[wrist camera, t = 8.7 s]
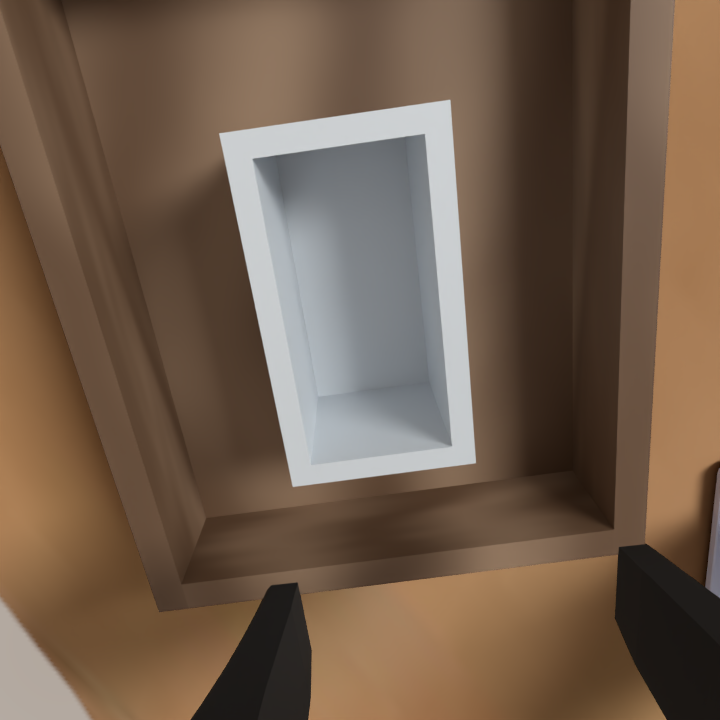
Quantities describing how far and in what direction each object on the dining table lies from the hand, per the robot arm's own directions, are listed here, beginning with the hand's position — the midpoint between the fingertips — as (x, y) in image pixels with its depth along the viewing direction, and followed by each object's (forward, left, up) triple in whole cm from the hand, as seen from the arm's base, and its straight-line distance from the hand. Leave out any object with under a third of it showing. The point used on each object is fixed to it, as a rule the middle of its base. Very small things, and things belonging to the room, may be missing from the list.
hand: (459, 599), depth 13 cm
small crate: (+1, -6, -8) cm, 10 cm away
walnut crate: (+1, -6, -9) cm, 11 cm away
